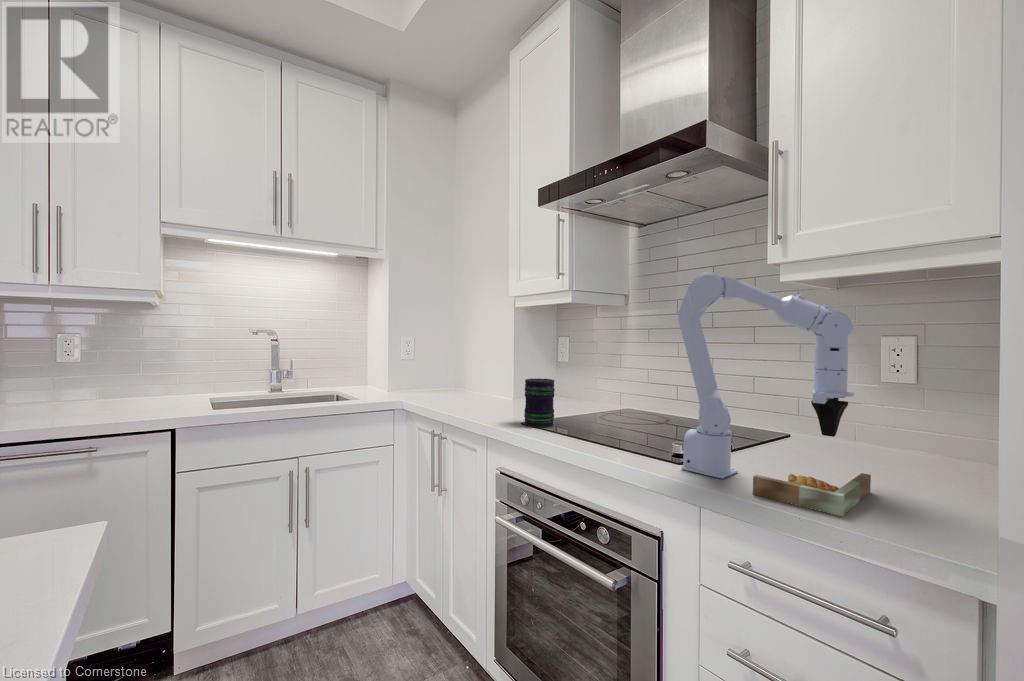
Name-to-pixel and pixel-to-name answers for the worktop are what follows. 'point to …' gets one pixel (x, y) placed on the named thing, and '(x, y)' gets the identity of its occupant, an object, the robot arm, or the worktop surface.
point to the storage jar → (539, 403)
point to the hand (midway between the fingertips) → (828, 435)
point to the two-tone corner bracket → (814, 493)
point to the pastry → (811, 482)
